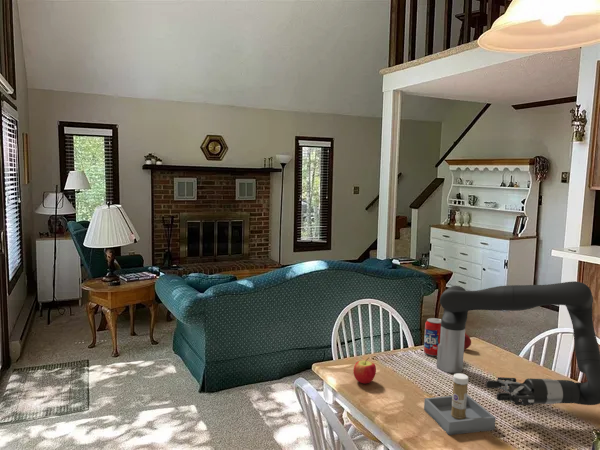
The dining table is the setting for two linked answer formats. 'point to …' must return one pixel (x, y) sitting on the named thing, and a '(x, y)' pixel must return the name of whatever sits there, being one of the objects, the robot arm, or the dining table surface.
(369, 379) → the apple
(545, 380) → the robot arm
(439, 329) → the soda can
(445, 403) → the bin
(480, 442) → the dining table surface
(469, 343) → the onion
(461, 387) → the sprinkles bottle
